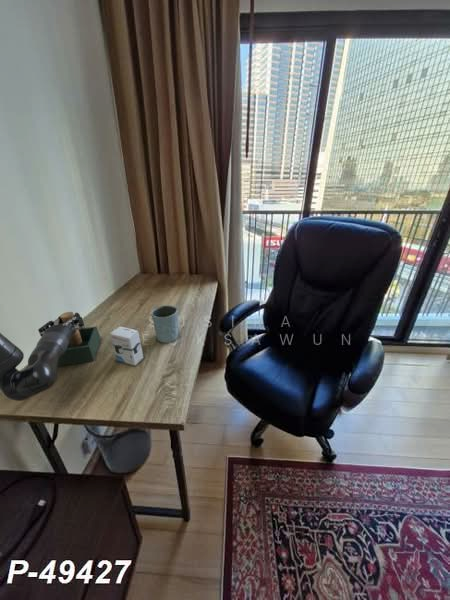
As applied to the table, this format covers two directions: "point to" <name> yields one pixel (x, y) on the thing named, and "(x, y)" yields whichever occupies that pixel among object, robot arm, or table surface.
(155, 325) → the blue grey cup
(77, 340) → the wooden cylinder
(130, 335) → the ink box
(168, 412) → the table surface
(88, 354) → the bin
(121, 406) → the table surface
